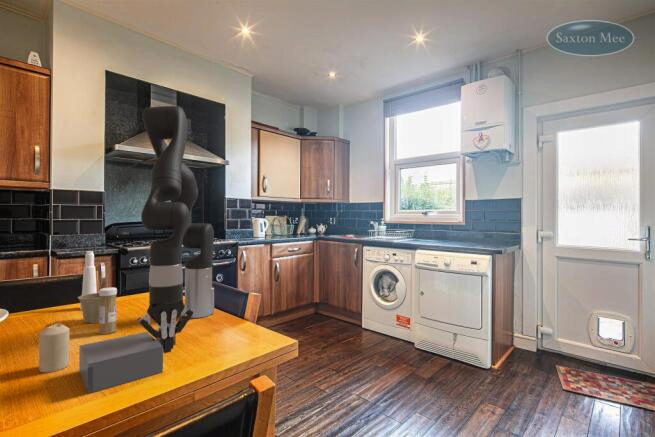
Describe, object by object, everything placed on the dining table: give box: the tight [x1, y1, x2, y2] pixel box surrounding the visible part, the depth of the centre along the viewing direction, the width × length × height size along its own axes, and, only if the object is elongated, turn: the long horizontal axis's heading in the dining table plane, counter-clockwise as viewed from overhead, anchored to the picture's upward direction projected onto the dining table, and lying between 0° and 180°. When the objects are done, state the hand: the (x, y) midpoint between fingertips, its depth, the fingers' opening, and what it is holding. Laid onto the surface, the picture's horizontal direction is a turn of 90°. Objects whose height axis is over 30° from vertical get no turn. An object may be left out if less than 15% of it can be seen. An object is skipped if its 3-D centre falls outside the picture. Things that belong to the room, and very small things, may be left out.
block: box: [155, 328, 177, 346], centre depth 94 cm, size 4×4×4 cm
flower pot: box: [77, 292, 100, 324], centre depth 114 cm, size 9×9×9 cm
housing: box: [78, 331, 164, 394], centre depth 77 cm, size 14×13×6 cm
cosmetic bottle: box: [79, 250, 98, 311], centre depth 129 cm, size 6×6×22 cm
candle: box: [38, 322, 70, 374], centre depth 79 cm, size 6×6×10 cm
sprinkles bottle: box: [98, 287, 118, 335], centre depth 103 cm, size 5×5×14 cm
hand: (166, 351), depth 83 cm, fingers closed
